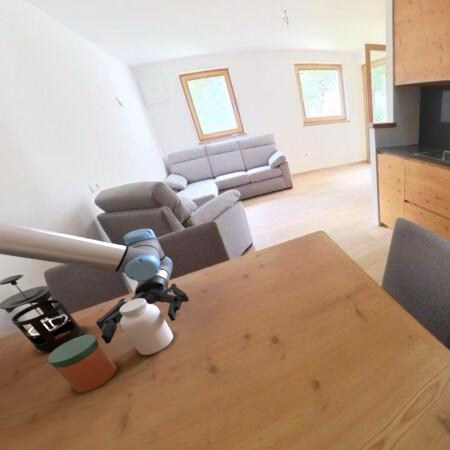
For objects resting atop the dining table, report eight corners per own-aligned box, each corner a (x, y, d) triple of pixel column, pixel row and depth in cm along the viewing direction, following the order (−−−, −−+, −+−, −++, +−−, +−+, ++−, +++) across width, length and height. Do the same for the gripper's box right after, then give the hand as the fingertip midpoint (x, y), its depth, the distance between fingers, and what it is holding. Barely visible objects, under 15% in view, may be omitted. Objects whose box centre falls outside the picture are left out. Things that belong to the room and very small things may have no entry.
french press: (81, 342, 82) (31, 279, 72) (33, 361, 76) (-29, 296, 66) (86, 320, 90) (42, 261, 80) (43, 336, 85) (-10, 275, 74)
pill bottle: (143, 361, 75) (116, 320, 68) (136, 346, 79) (109, 307, 73) (178, 341, 80) (155, 301, 74) (169, 329, 85) (146, 290, 78)
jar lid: (41, 370, 63) (36, 364, 62) (73, 342, 70) (69, 337, 69) (79, 365, 64) (75, 359, 63) (107, 337, 71) (103, 332, 70)
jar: (66, 394, 67) (39, 365, 63) (93, 366, 74) (70, 338, 69) (100, 389, 68) (76, 360, 63) (124, 362, 75) (103, 334, 70)
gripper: (202, 281, 97) (200, 318, 81) (108, 310, 86) (83, 360, 69) (194, 263, 94) (190, 298, 77) (95, 291, 82) (66, 339, 66)
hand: (139, 327), depth 73 cm, fingers open, 13 cm apart
